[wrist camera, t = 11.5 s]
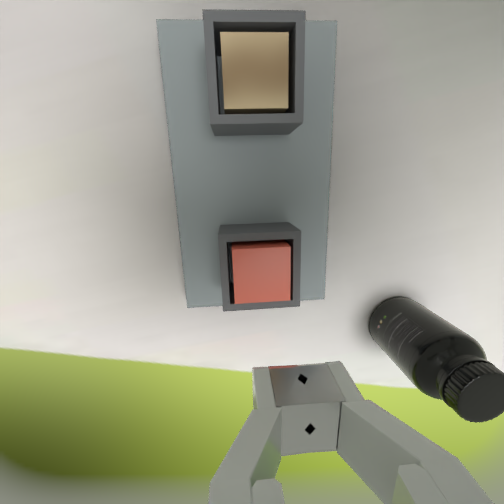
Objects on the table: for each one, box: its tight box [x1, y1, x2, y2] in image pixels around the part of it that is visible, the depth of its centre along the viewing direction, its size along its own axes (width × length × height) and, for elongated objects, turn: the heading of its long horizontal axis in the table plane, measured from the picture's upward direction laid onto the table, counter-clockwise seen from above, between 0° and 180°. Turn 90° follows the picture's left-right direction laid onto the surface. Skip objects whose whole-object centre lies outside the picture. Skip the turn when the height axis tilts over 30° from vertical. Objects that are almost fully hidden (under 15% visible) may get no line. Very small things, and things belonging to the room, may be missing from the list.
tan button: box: [220, 32, 289, 114], centre depth 19 cm, size 4×4×4 cm
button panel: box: [156, 10, 337, 311], centre depth 22 cm, size 24×14×8 cm, turn 2°
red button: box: [232, 239, 291, 304], centre depth 22 cm, size 4×4×4 cm
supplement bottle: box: [369, 297, 504, 422], centre depth 26 cm, size 7×7×12 cm
